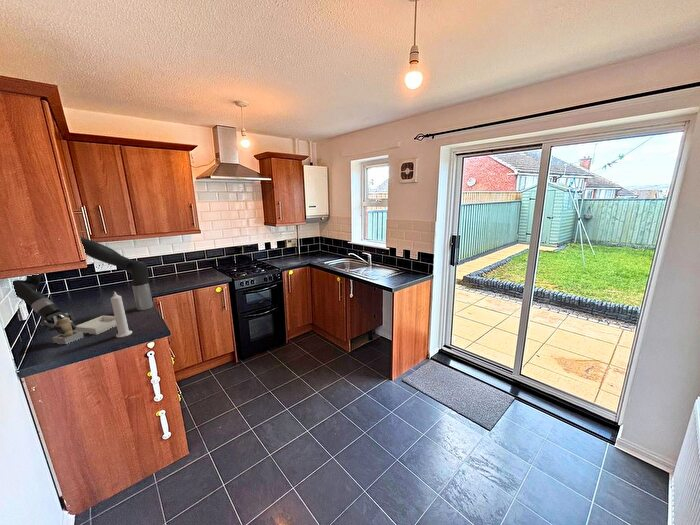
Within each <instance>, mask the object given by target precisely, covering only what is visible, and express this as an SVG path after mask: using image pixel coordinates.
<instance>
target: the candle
mask: <svg viewBox="0 0 700 525" xmlns="http://www.w3.org/2000/svg"><path fill="white" fill-rule="evenodd" d="M110 302H111V306H112V311H113V316H115V320H116V324H117V326H116V328H117V332H118V333H116V335H115V337H116V338H118V339H119V338H125V337H127V336H131V335H132V334H133V331H132V330H130V329H129V325H128V321H127V320H128V319H127V316H126V312H125V307H124V303H123V298H122V295H120V294H119V295H118V294H117V292H116V291H113V295H112V296H111V297H110Z"/></svg>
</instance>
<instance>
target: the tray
mask: <svg viewBox="0 0 700 525" xmlns="http://www.w3.org/2000/svg"><path fill="white" fill-rule="evenodd" d="M112 327H113V328H115V327H117V324H116V320H115V316H114V315H104V314H103V315H101V316H97V317H96V318H92V319H90V320H88V321H85V322H83V323H79V324H77V325H76V329H75V330H73V331H82V332H83V334H86V333H89V334H88V335H99V334H101V333H103V332H106V331H107V330H110V328H111V329H113V328H112Z"/></svg>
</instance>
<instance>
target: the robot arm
mask: <svg viewBox="0 0 700 525" xmlns="http://www.w3.org/2000/svg"><path fill="white" fill-rule="evenodd" d="M79 236H80V235H79ZM80 237H81V241H82V244H83V246H84V249H85V253H86V254H85V255H86V256H88V257H90V258H92V259H94V260H97V261H99V262H103V263H104V264H105V263H106V264H107V265H112V266H115V267H117V268H119V269H122V270H123V271H126V272H128V273H129V274H131V276H132V280H131V282H130V283H131V287H132V291H133V297H134V300H135V306H136V310H137V311H145V310H149V309H152V308H153V307H154V303H153V298H152V292H151V289H150V288H151V287H150V283H149V279H150V275H149V268H148V266H147V264H146V263H145V262H144V261H140V260H135V259H131V258H128V257H126V256H124V255H121V254H120V253H119V252H117V251H116V250H114V249H113V248H110V247H108V246H107V245H104V244H103V243H102V244H101V243H99V242H97V241H94V240H92V239H88V238H85V237H83V236H80ZM43 275H44V273H43V274H39V275H32V276H26V279H24V280H23V279H22V280H21V279H15V280H13V285H14V289H15V292H16V295H17V296H16V297H17V298H19V299H20V300H23V301H24V302H25V303H27V304H28V305H29V306H30V308H31V309H32V310H33V311H34V313H36V314H37V315H38V316H39V317H40V318H41V319H43V320H42V321H41V322H40V323H39V326H40V327H42V328H44V329H47V330H48V331H51V332H52V331H56V332H58V333H59V335H60V334H65V330H63V329H62V328H61V327H59V324H58V320H60V319H63V318H69V319H70V322H71V326H72V330H73V331H74V330H75V329H76V326H77V325H76V324H75V323H74V322H75V321H76V318H75V316H74V314H73V312H72V311H69V312H66V313H65V312H63V311H62V310H61V309H60V308H59V307H58V306H57V305H56V304H55V303H54V302H53V301H52V300H50V299H49V298H48V297H47V296H46V295H45V294H43V293H42V292H40V291H37V290H38V288H39V286H40V283H41V279H42V276H43Z"/></svg>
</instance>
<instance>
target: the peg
mask: <svg viewBox="0 0 700 525" xmlns="http://www.w3.org/2000/svg"><path fill="white" fill-rule="evenodd" d="M58 324H59V327H61V328H62V329H63V330H65V334H62V337H67V336H70V335H72V334H74V333H73V331H74V330H72V326H71V322H70V319H69V318H68V317H67V318H63V319H60V320H58Z"/></svg>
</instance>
